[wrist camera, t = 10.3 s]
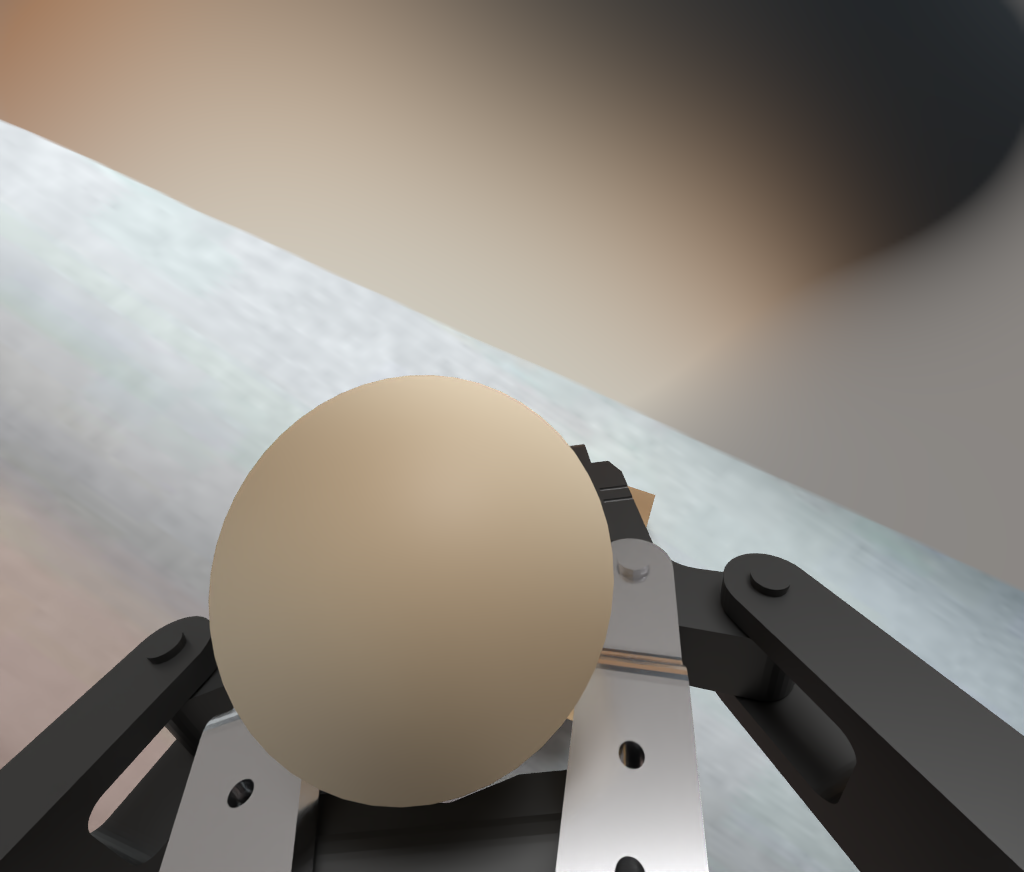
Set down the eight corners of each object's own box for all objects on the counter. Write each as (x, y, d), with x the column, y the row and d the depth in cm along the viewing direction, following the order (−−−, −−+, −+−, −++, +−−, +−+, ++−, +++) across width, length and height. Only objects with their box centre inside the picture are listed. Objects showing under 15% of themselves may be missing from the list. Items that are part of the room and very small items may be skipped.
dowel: (544, 637, 17) (535, 907, 4) (445, 598, 18) (124, 699, 4) (577, 533, 18) (667, 436, 5) (482, 499, 19) (317, 328, 5)
